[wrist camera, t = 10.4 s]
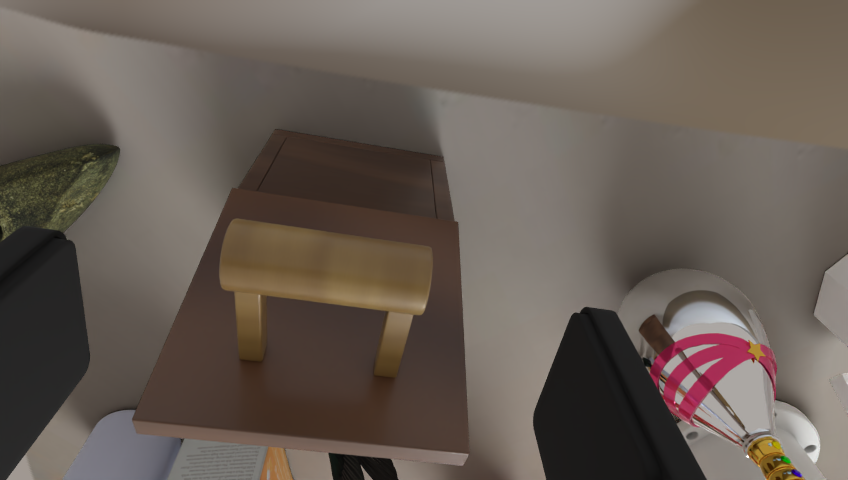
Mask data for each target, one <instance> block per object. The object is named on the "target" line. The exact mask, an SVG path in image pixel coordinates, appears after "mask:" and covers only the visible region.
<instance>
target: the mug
mask: <svg viewBox="0 0 848 480" xmlns="http://www.w3.org/2000/svg"><path fill="white" fill-rule="evenodd" d="M814 316H815V317H816V318H817V319H818V320H819V321H820V322H822V323H823V324H824V325H825V326H826V327H827V328H828V329H829V330H830V331H831V332H832V333H833V334H834V335H835V336H836V337H837V338H838V339H839V340H840V341H842V342H843V343H844V344H845V345H846V346H847V347H848V254H847V255H846V256H845V257H843V258H842V259H841V260H840V261H838V262H837V263H836V264H834V265H833V266H832V267H831V268H829V269H828V270H827V271H826V272H825V274H824V278H823V282H822V285H821V289H820V293H819V296H818V300H817V304H816V307H815V311H814ZM829 382H830V384H831V385H832V387H833V389H834V391H835V393H836V395H837V397H838V399H839V400H840V402H841V404H842V406H843V408H844V410H845V412H846V413H847V415H848V373H842V374H839V375H837V376H835V377H833V378H831V379H829Z"/></svg>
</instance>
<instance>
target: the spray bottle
mask: <svg viewBox="0 0 848 480" xmlns="http://www.w3.org/2000/svg"><path fill="white" fill-rule="evenodd" d="M135 411H136V410H122V411H117V412H114V413H111V414H109V415H107V416H105V417H104V418H102V419H101V420H100V421H99V422H98V423H97V424H96V426H95V427H94V429H93V431H92V432H91V434H90V436H89V437H88V439H87V440H86V442H85V444H84V445H83V447H82V448H81V450H80V452H79V453H78V455H77V457H76V458H75V460H74V461H73V463H72V465H71V466H70V468H69V469H68V471H67V473H66V474H65V476H64V478H63V479H62V480H167V478H168V476H169V473H170V471H171V469H172V466H173V464H174V462H175V459H176V457H177V454H178V452H179V450H180V447H181V440H180V438H174V437H164V436H154V435H144V434H137V433H136V431H135V428H134V425H133V422H132V418H133V415H134V413H135Z"/></svg>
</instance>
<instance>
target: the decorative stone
mask: <svg viewBox="0 0 848 480" xmlns="http://www.w3.org/2000/svg"><path fill="white" fill-rule="evenodd" d="M119 154H120V148H119V147H118V146H114V145H107V144H92V145H84V146H78V147H73V148H68V149H64V150H59V151H55V152H52V153H47V154H43V155H40V156H36V157H32V158H28V159H24V160H21V161H17V162H13V163H9V164H5V165H2V166H0V242H1V241H2V240H4V239H5V238H6V237H8V236H9V235H10V234H12V233H13V232H15V231H16V230H17V229H19V228H21V227H23V226H31V227H38V228H45V229H52V230H59V231H61V232H64V231H65V230H67V229H68V228H69V227H70V226H71V225H72V224H73V223H74V221H75V220H77V218H78V217H79V216H80V215H81V214H82V213H83V212H84V211H85V210H86V209H87V207H88V206H89V205H90V204H91V203H92V202H93V201H94V199H95V198H96V197H97V196H98V194H99V193H100V192H101V190H102V189H103V187H104V186H105V184H106V183H107V181H108V179H109V178H110V176H111V175H112V173H113V171H114V169H115V167H116V165H117V162H118V159H119Z"/></svg>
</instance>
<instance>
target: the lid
mask: <svg viewBox="0 0 848 480" xmlns="http://www.w3.org/2000/svg"><path fill="white" fill-rule="evenodd" d="M132 422H133V425H134V428H135V431H136V433H137V434H144V435H154V436H164V437H174V438H184V439H195V440H205V441H215V442H225V443H235V444H246V445H256V446H266V447H276V448H286V449H297V450H307V451H317V452H327V453H337V454H347V455H358V456H368V457H378V458H388V459H398V460H409V461H419V462H429V463H439V464H449V465H459V466H463V465H464V463H465V461H466V459H467V458H468V456H469V453H470V451H469V430H468V410H467V390H466V370H465V349H464V329H463V309H462V288H461V268H460V248H459V228H458V222H456V221H449V220H443V219H436V218H429V217H423V216H416V215H410V214H403V213H396V212H390V211H383V210H376V209H370V208H363V207H357V206H350V205H343V204H337V203H330V202H324V201H317V200H310V199H304V198H297V197H291V196H284V195H277V194H271V193H264V192H258V191H251V190H244V189H238V188H232V190H231V192H230V194H229V197H228V199H227V201H226V203H225V206H224V208H223V210H222V213H221V215H220V217H219V220H218V222H217V224H216V227H215V229H214V231H213V233H212V236H211V238H210V240H209V243H208V245H207V247H206V250H205V252H204V254H203V256H202V259H201V261H200V263H199V266H198V268H197V270H196V273H195V275H194V277H193V279H192V282H191V284H190V286H189V289H188V291H187V293H186V296H185V298H184V300H183V303H182V305H181V307H180V309H179V312H178V314H177V316H176V319H175V321H174V323H173V326H172V328H171V330H170V332H169V335H168V337H167V339H166V342H165V344H164V346H163V349H162V351H161V353H160V355H159V358H158V360H157V362H156V365H155V367H154V369H153V372H152V374H151V376H150V378H149V381H148V383H147V385H146V388H145V390H144V392H143V395H142V397H141V399H140V402H139V404H138V406H137V408H136V411H135V413H134V415H133V418H132Z"/></svg>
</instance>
